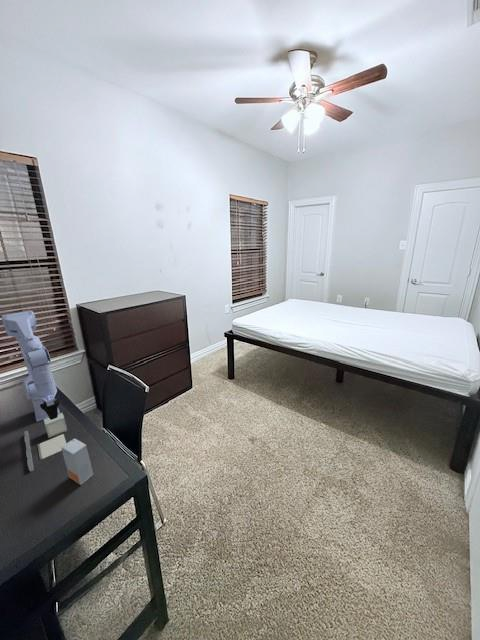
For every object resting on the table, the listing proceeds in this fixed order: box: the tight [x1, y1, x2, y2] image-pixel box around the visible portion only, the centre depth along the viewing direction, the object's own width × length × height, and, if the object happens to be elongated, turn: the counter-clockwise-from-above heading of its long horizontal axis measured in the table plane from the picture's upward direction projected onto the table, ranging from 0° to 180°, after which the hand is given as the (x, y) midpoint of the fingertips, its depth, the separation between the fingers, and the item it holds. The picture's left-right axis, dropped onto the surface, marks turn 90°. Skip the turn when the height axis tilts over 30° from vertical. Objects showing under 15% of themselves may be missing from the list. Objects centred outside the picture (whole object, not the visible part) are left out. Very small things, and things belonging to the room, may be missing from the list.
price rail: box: [23, 430, 35, 472], centre depth 92 cm, size 22×1×2 cm, turn 41°
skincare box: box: [61, 438, 94, 486], centre depth 80 cm, size 6×4×12 cm
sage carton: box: [43, 412, 68, 439], centre depth 100 cm, size 4×6×6 cm
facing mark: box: [36, 433, 68, 461], centre depth 94 cm, size 9×8×1 cm
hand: (52, 413), depth 99 cm, fingers open, 7 cm apart
